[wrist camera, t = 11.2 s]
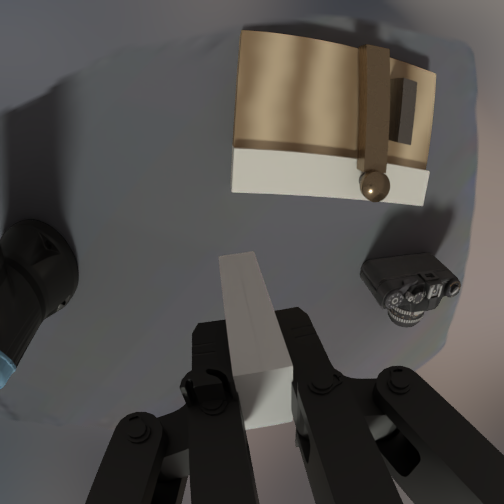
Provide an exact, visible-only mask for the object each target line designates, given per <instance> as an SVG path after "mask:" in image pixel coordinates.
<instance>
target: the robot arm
mask: <svg viewBox="0 0 504 504" xmlns="http://www.w3.org/2000/svg"><path fill="white" fill-rule="evenodd" d="M218 257H219V266H220V275H221V284H222V293H223V302H224V310H225V319H226V320H219V321H212V322H204V323H198V325H197V326H196V328H195V330H194V331H193V333H192V371H190V372H188V373H187V374H186V375H185V377H184V378H183V379H182V381H181V385H180V390H181V392H182V395H183V397H184V399H185V402H186V404H185V405H184V406H183V407H181V408H180V409H179V410H177V411H175V412H172V413H170V414H167V415H164V416H161V417H158V418H156V417H155V416H154V415H152V414H150V413H147V412H135V413H132V414H129V415H127V416H126V417H124V418H123V419H121V420H120V422H119V423H118V425H117V426H116V428H115V431H114V433H113V435H112V438H111V440H110V442H109V445H108V447H107V450H106V452H105V455H104V457H103V459H102V462H101V464H100V467H99V469H98V472H97V474H96V477H95V479H94V482H93V485H92V487H91V490H90V492H89V495H88V498H87V500H86V503H85V504H181V503H182V499H183V495H184V491H185V486H186V482H187V478H188V475H190V488H191V503H192V504H259V499H258V494H257V488H256V483H255V478H254V473H253V467H252V462H251V456H250V451H249V445H248V441H247V436H246V430H247V429H253V428H260V427H265V426H271V425H277V424H282V423H287V422H292V417H293V418H294V421H295V425H296V440H295V443H296V447H299V448H300V451H301V455H302V459H303V462H304V465H305V469H306V472H307V476H308V479H309V483H310V486H311V489H312V493H313V496H314V500H315V503H316V504H403V502H402V500H401V498H400V496H399V493H398V491H397V488H396V486H395V484H394V482H393V479H394V480H395V481H396V482H397V484H398V485H399V486H400V487H401V488H402V489H403V491H404V492H405V493H406V494H407V496H408V497H409V498H410V499H411V500H412V501H413V503H414V504H504V455H503V454H502V453H501V452H499V450H497V449H496V448H495V447H494V446H493V445H492V444H491V443H490V442H489V441H488V440H487V439H486V438H485V437H484V436H483V435H482V434H481V433H480V432H479V431H478V430H476V428H475V427H473V425H471V424H470V423H469V422H468V421H467V420H466V419H465V418H464V417H463V416H462V415H461V414H460V413H459V412H458V411H457V410H456V409H454V407H452V406H451V405H450V404H449V403H448V402H447V401H446V400H445V399H444V398H443V397H442V396H440V394H439V393H437V392H436V391H435V390H434V389H433V388H432V387H431V386H430V385H429V384H428V383H427V382H425V380H423V379H422V378H421V377H420V376H419V375H418V374H417V373H416V372H414V371H413V370H411V369H410V368H407V367H403V366H391V367H389V368H386V369H384V370H383V371H382V372H381V373H380V374H379V375H378V377H377V379H355V378H350V377H346V376H344V375H343V374H342V373H341V372H339V371H337V370H336V369H334V367H333V366H332V364H331V362H330V360H329V358H328V356H327V354H326V352H325V350H324V348H323V345H322V343H321V341H320V339H319V337H318V335H317V333H316V331H315V329H314V326H313V324H312V322H311V320H310V318H309V316H308V314H306V313H305V312H304V311H303V310H301V309H300V308H299V307H294V308H289V309H283V310H277V311H274V309H273V306H272V303H271V300H270V297H269V294H268V291H267V288H266V285H265V283H264V280H263V277H262V274H261V271H260V268H259V265H258V262H257V259H256V256H255V253H254V251H253V252H246V253H239V254H232V255H225V256H218ZM77 285H78V268H77V263H76V260H75V257H74V255H73V252H72V250H71V249H70V247H69V245H68V244H67V242H66V241H65V240H64V238H63V237H62V236H61V235H60V234H59V233H58V232H57V231H56V230H55V229H53V228H52V227H50V226H49V225H47V224H45V223H43V222H40V221H37V220H23V221H20V222H18V223H16V224H15V225H13V226H12V227H11V228H9V229H8V230H7V231H6V232H5V233H4V234H3V236H2V237H1V239H0V389H1V388H3V387H4V386H5V384H6V382H7V381H8V379H9V378H10V376H11V374H12V373H14V372H15V370H16V368H17V366H18V364H19V362H20V360H21V358H22V356H23V354H24V353H25V351H26V349H27V347H28V345H29V344H30V342H31V340H32V338H33V337H34V335H35V333H36V331H37V330H38V328H39V326H40V325H41V323H42V322H43V320H44V319H46V318H48V317H49V316H51V315H52V314H54V313H56V312H57V311H59V310H61V309H62V308H63V307H65V306H66V305H67V303H68V302H69V301H70V299H71V298H72V296H73V295H74V293H75V291H76V288H77ZM391 476H392V477H391ZM392 478H393V479H392Z"/></svg>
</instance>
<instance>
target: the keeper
mask: <svg viewBox="0 0 504 504" xmlns="http://www.w3.org/2000/svg"><path fill="white" fill-rule="evenodd" d="M416 94H417V82H416V81H413V80H410V79H407V78H393V79H390V121H389V140H390V141H394V142H398V143H402V144H407V145H411V141H412V133H413V125H414V116H415V106H416Z"/></svg>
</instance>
